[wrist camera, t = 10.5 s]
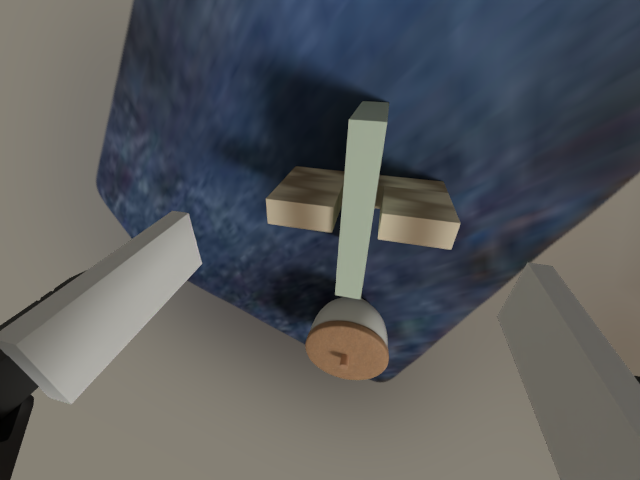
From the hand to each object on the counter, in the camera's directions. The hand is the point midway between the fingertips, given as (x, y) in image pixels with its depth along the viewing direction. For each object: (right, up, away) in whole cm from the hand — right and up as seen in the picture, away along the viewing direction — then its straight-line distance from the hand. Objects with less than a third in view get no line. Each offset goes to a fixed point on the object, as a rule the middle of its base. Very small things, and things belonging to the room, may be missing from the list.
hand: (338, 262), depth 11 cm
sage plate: (+4, +7, +20) cm, 21 cm away
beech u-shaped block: (+4, +7, +20) cm, 21 cm away
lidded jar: (+4, -10, +31) cm, 33 cm away
